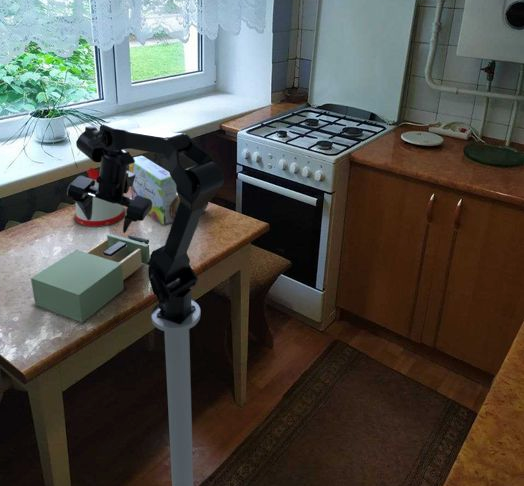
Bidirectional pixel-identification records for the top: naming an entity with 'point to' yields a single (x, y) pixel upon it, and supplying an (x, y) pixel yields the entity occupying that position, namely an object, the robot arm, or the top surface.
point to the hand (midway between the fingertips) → (107, 225)
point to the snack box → (154, 187)
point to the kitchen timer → (100, 208)
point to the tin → (175, 205)
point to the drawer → (135, 248)
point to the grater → (116, 252)
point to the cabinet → (77, 285)
